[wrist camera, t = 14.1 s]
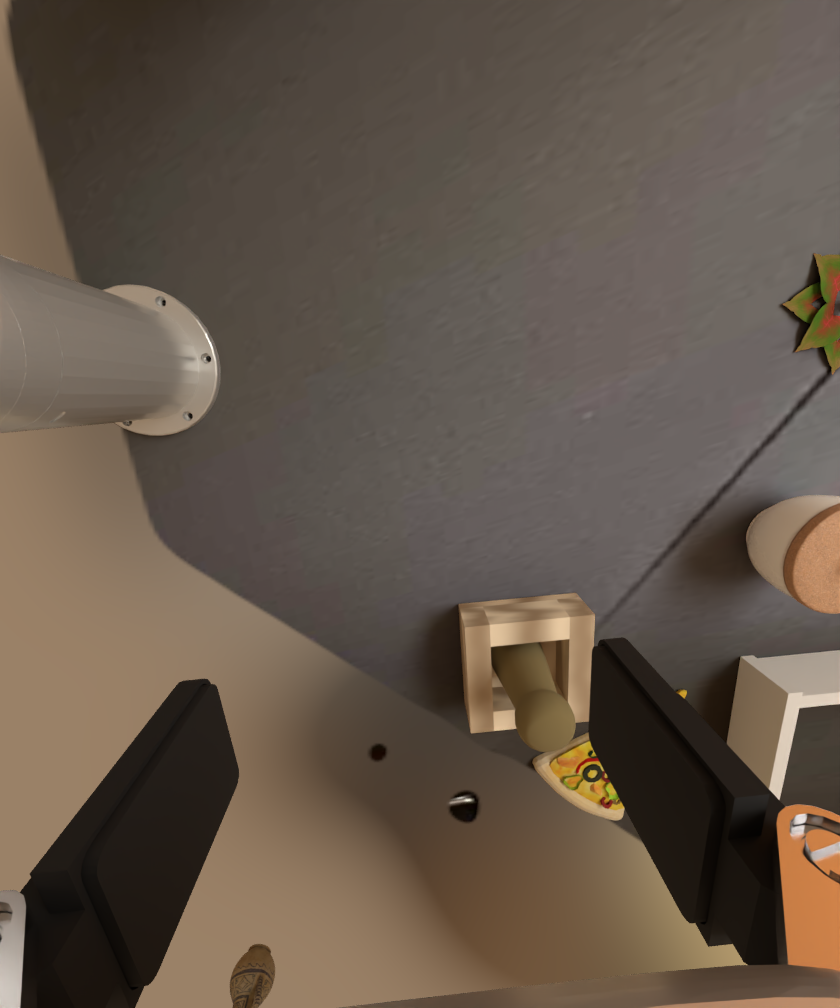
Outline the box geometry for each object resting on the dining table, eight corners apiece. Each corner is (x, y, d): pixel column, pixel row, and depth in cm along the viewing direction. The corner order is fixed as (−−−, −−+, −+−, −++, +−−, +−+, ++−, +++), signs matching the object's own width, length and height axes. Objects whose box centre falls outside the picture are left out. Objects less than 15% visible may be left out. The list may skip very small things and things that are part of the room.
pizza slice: (521, 763, 50) (528, 786, 47) (638, 651, 47) (653, 668, 44) (604, 816, 53) (616, 840, 50) (720, 715, 50) (739, 735, 47)
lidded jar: (740, 593, 44) (826, 644, 35) (711, 514, 41) (798, 547, 32) (832, 549, 43) (946, 589, 34) (810, 464, 40) (927, 484, 31)
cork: (491, 629, 43) (520, 706, 32) (545, 630, 43) (592, 707, 33) (486, 676, 44) (512, 764, 34) (538, 677, 45) (581, 764, 34)
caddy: (464, 701, 46) (470, 733, 42) (458, 604, 43) (464, 627, 39) (573, 690, 47) (590, 721, 42) (575, 592, 43) (594, 614, 39)
